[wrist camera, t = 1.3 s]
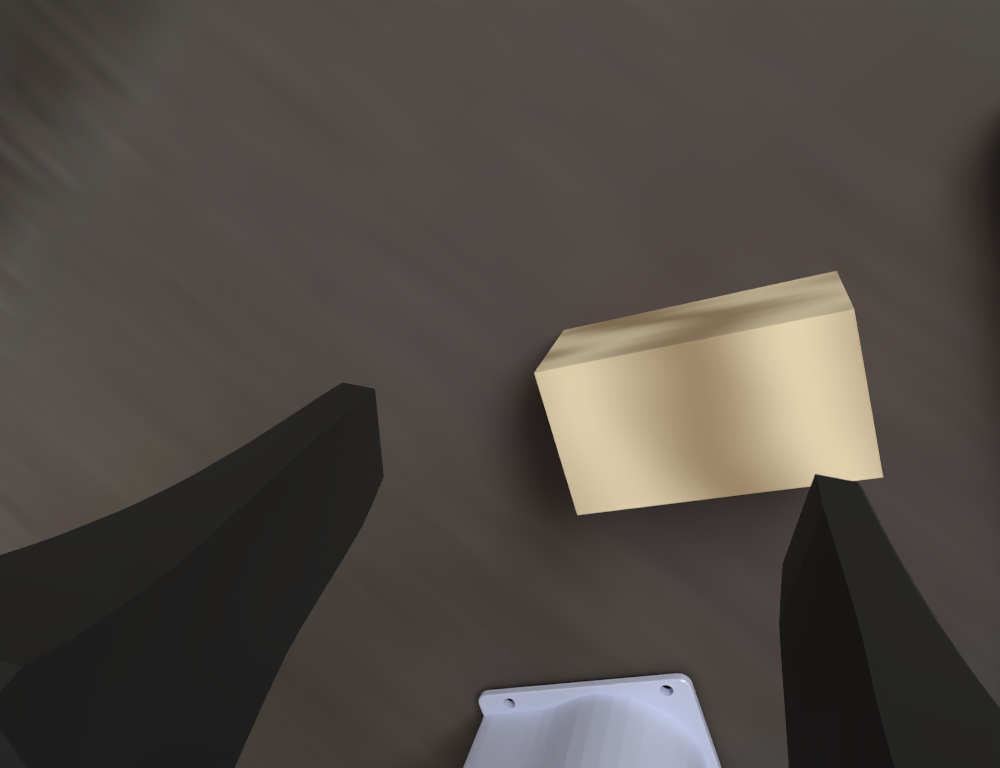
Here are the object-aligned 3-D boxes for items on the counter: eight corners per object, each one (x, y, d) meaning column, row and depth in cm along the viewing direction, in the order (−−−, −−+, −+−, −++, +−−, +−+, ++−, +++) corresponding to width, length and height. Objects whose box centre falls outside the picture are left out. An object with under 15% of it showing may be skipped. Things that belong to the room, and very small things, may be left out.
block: (600, 453, 29) (577, 515, 25) (564, 328, 27) (534, 372, 23) (861, 413, 26) (882, 477, 22) (835, 269, 24) (853, 309, 20)
